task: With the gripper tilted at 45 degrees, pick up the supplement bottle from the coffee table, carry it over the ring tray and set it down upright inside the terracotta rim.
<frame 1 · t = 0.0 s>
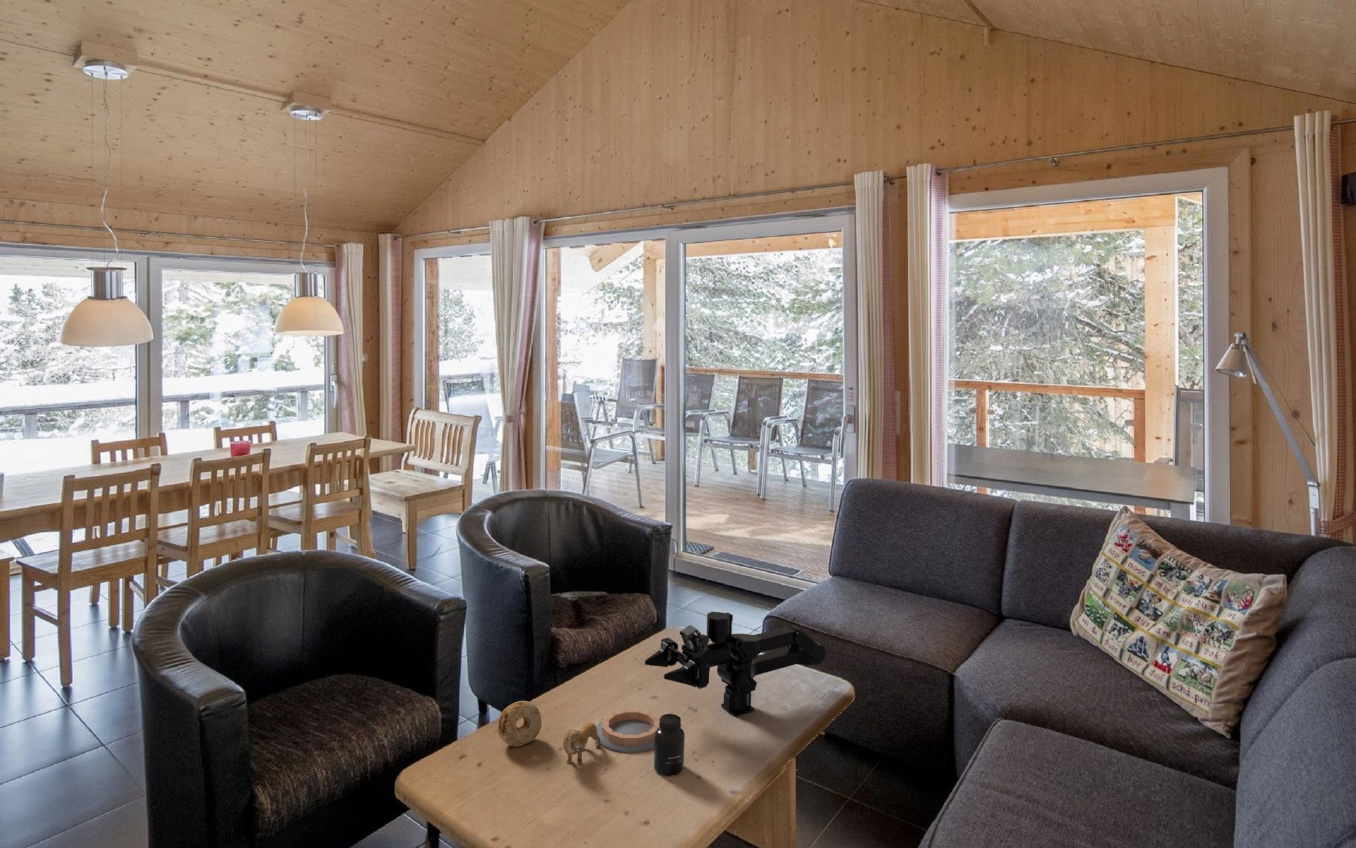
hand: (654, 669, 194), 17 cm above the table, tool horizontal, fingers open, 9 cm apart
supplement bottle: (669, 769, 181), on the table
ring tray: (631, 733, 197), on the table
lion figurine: (582, 758, 185), on the table
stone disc: (520, 744, 191), on the table
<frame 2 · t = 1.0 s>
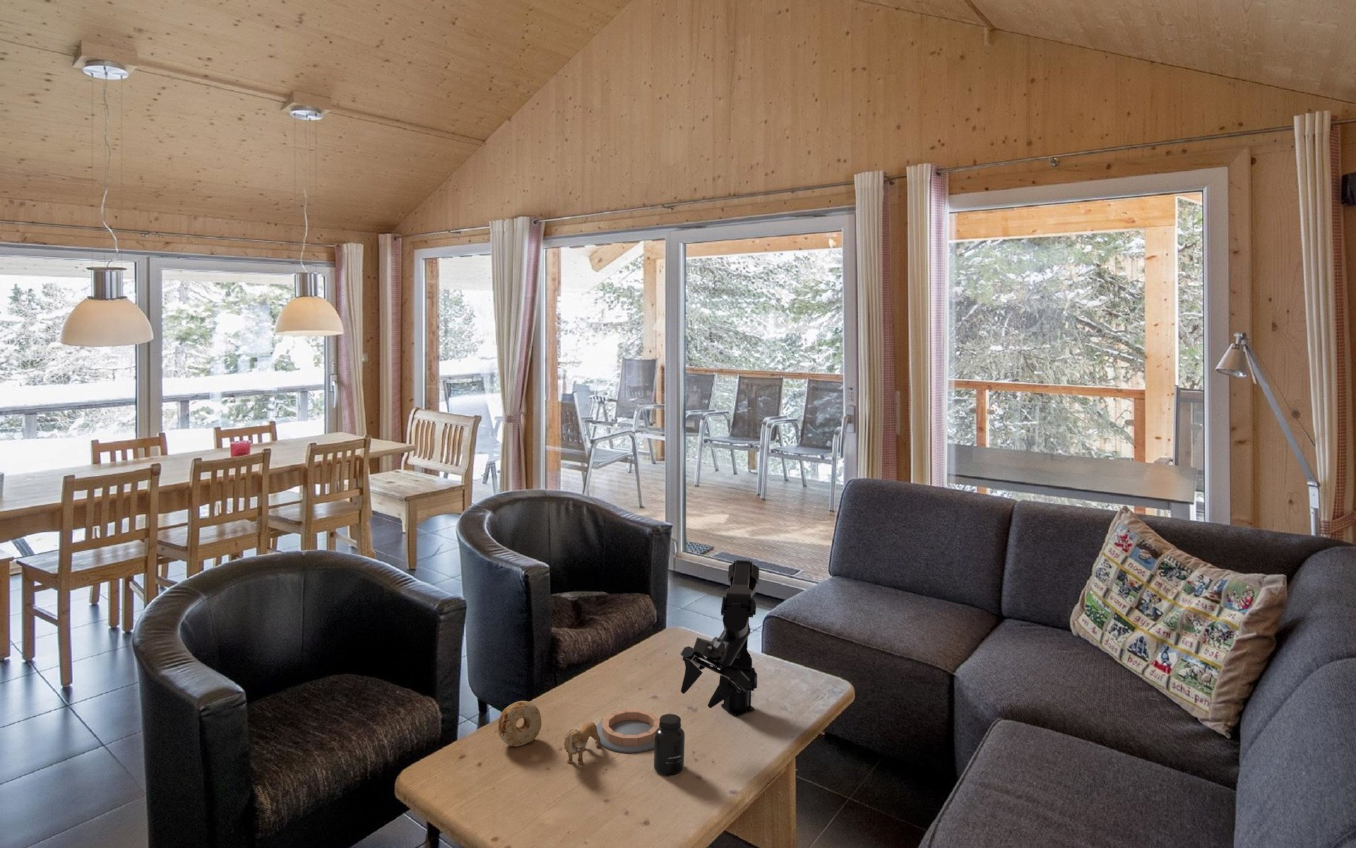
hand: (695, 699, 185), 14 cm above the table, tool tilted 45°, fingers open, 9 cm apart
lion figurine: (583, 758, 186), on the table, touching ring tray
everything else where it was.
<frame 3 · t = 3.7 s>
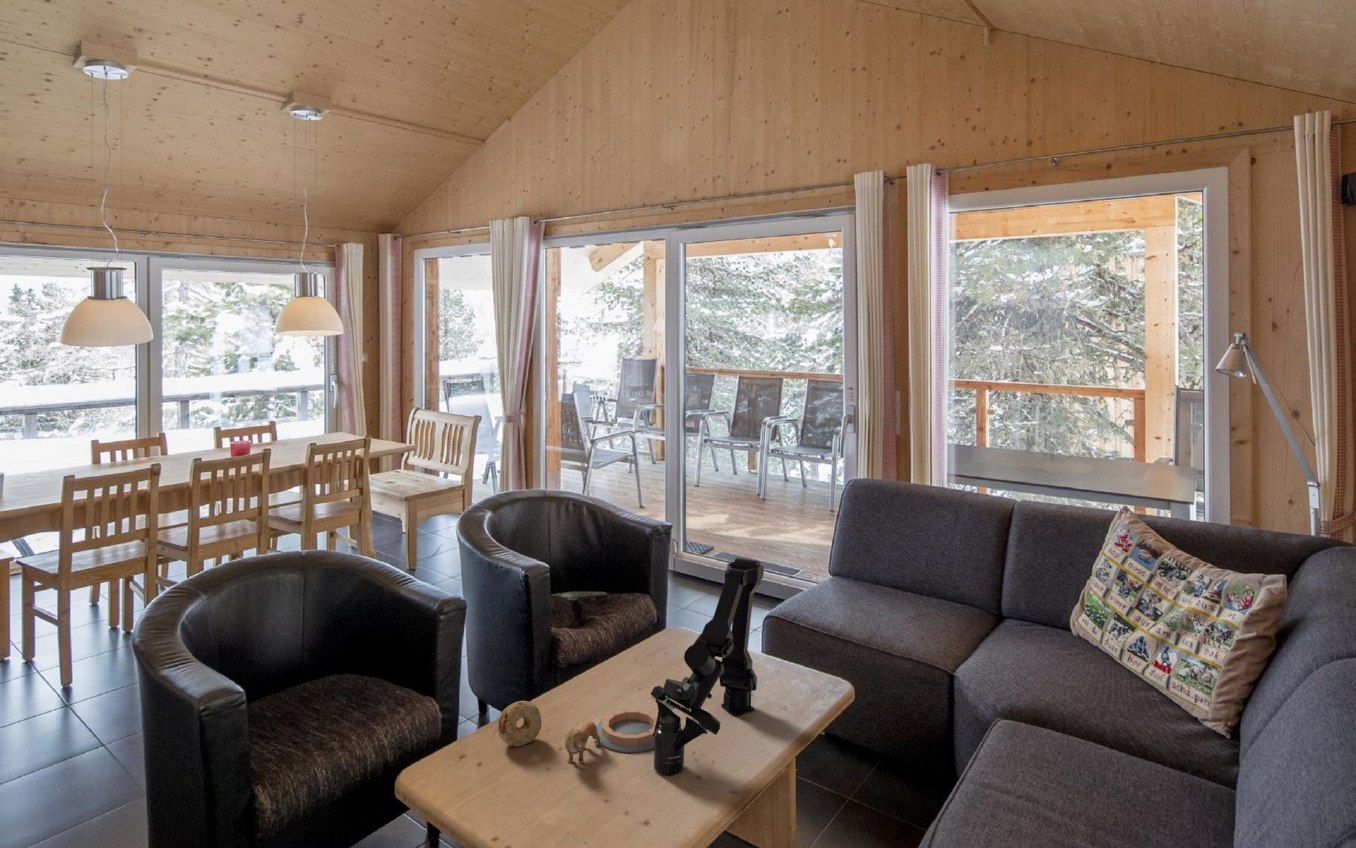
hand: (664, 743, 180), 7 cm above the table, tool tilted 45°, fingers closed on supplement bottle, 7 cm apart
supplement bottle: (669, 769, 181), on the table, touching gripper
lion figurine: (583, 757, 186), on the table
everything else where it was.
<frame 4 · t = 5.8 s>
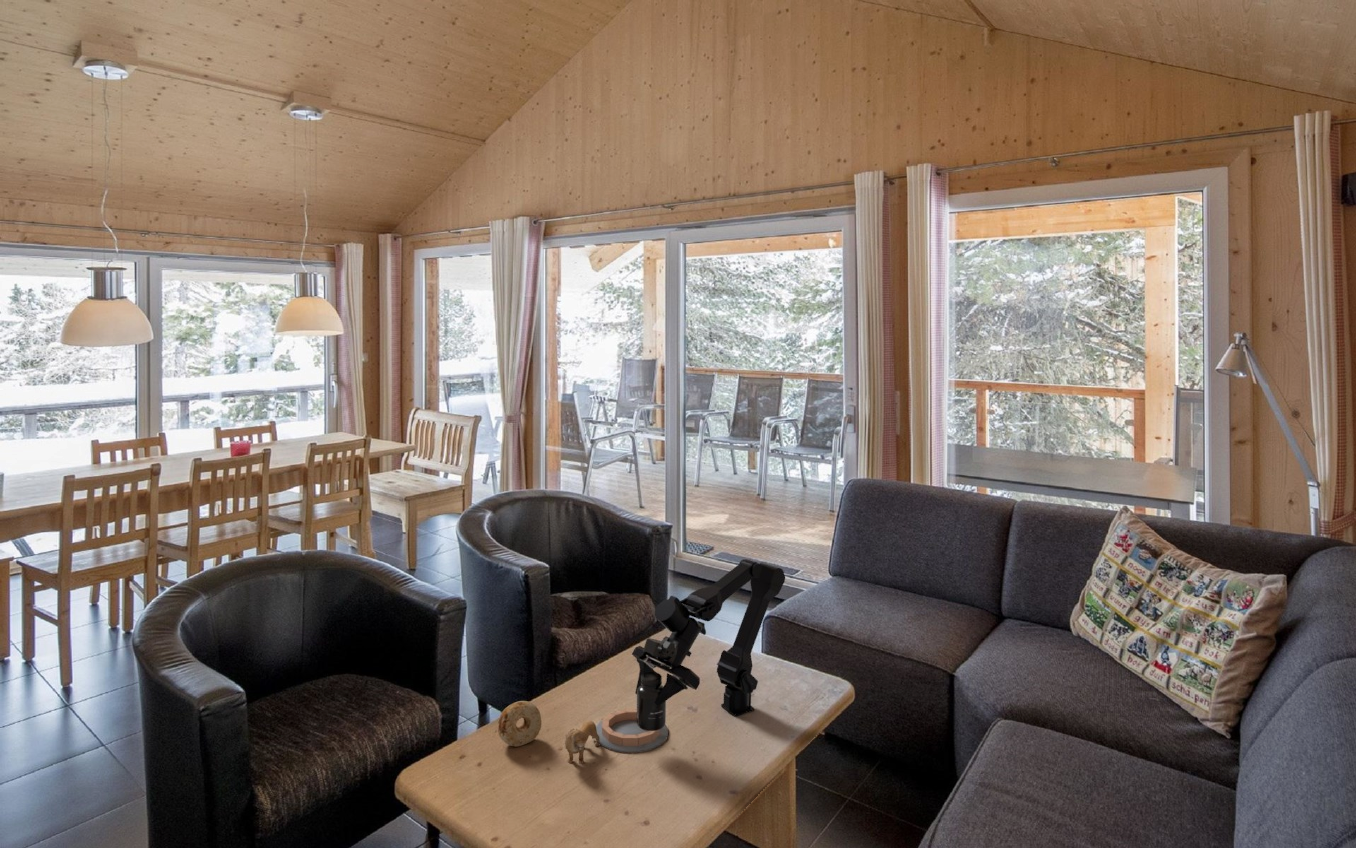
hand: (646, 699, 186), 13 cm above the table, tool tilted 45°, fingers closed on supplement bottle, 7 cm apart
supplement bottle: (651, 725, 188), point 6 cm above the table, touching gripper
everything else where it was.
when the fingers open (8 cm above the table, at t = 8.1 s): supplement bottle stays where it is, resting on ring tray.
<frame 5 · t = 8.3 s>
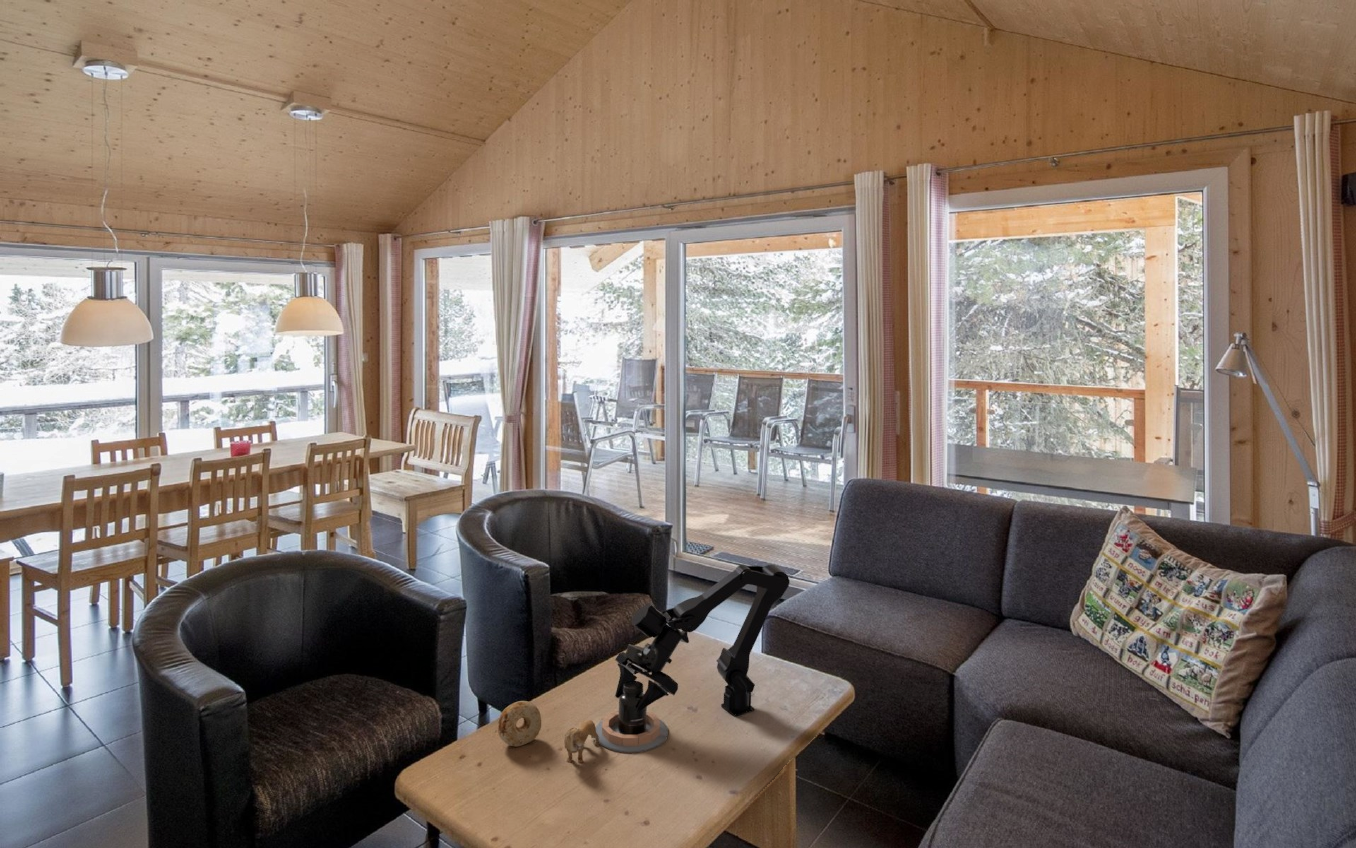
hand: (627, 703, 195), 8 cm above the table, tool tilted 45°, fingers open, 8 cm apart
supplement bottle: (632, 732, 196), resting on ring tray
lion figurine: (582, 756, 186), on the table, touching ring tray
everything else where it was.
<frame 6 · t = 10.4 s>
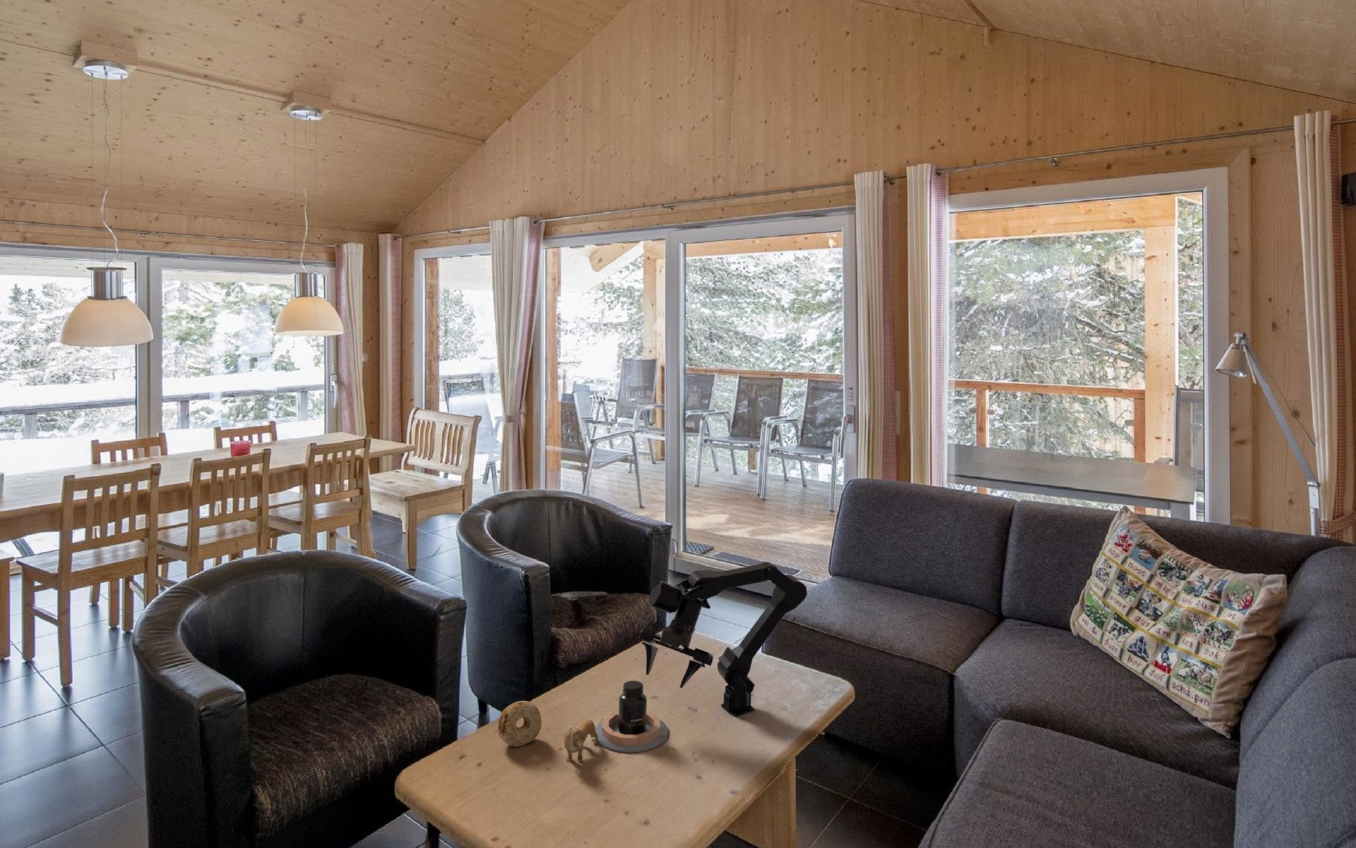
hand: (663, 681, 197), 12 cm above the table, tool tilted 30°, fingers open, 9 cm apart
lion figurine: (582, 756, 187), on the table
everything else where it was.
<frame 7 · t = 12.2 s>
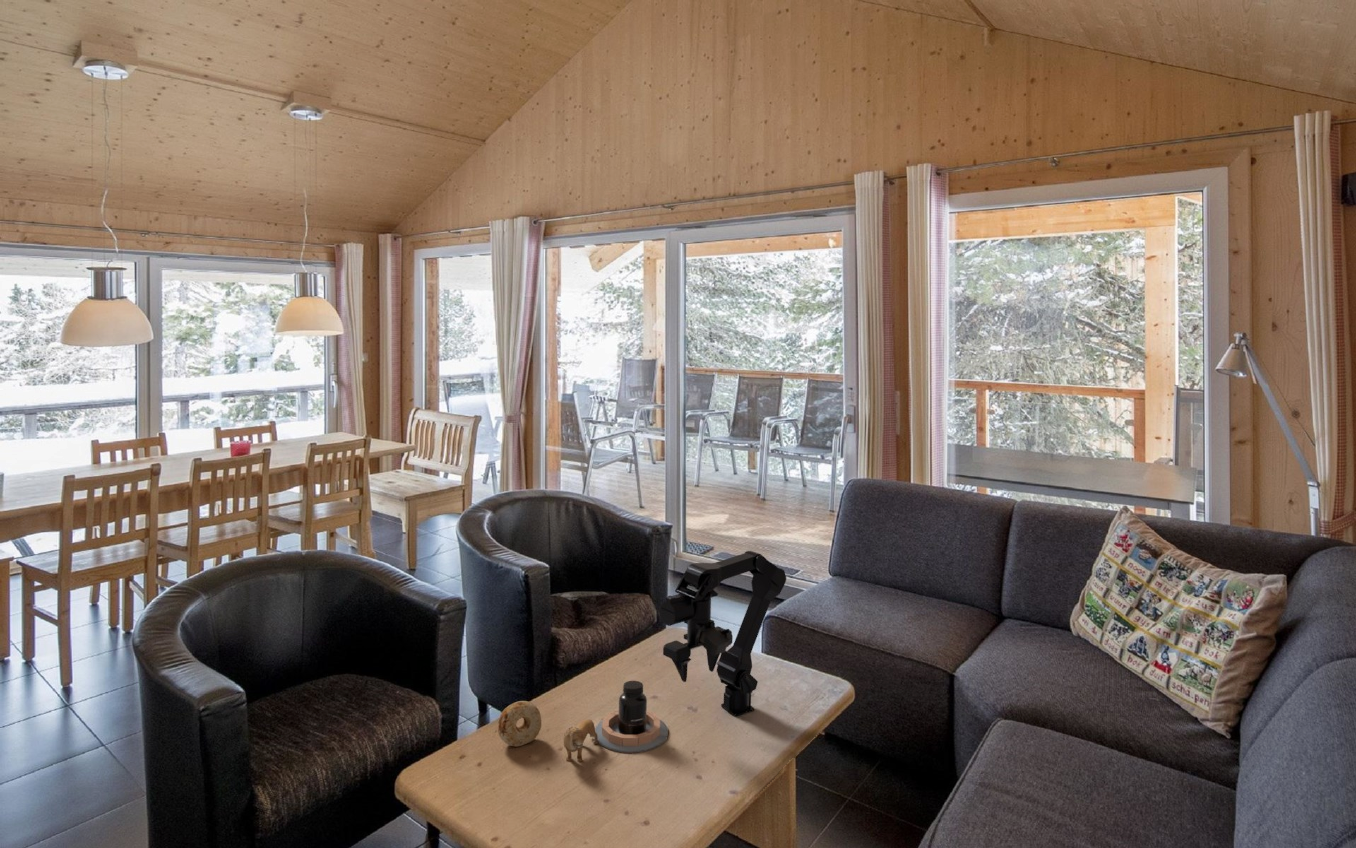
hand: (697, 676, 199), 13 cm above the table, tool pointing down, fingers open, 9 cm apart
nothing on the table moved.
at the end: supplement bottle 0.4 cm off-centre on the ring tray, point 0.4 cm above the ring tray's base; supplement bottle tilted 0°; the gripper is holding nothing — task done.
